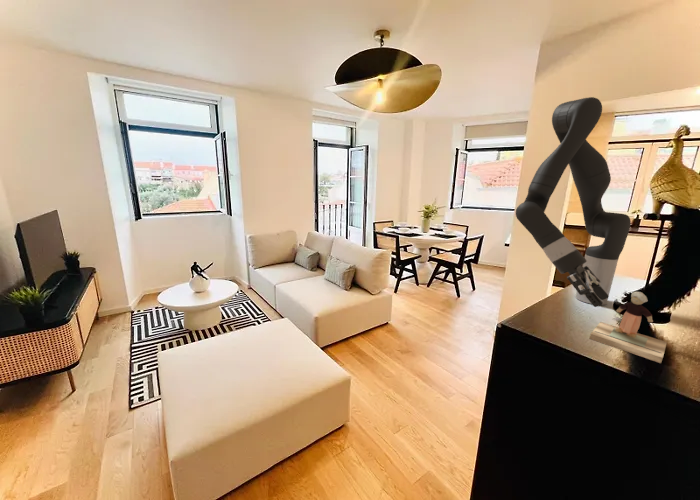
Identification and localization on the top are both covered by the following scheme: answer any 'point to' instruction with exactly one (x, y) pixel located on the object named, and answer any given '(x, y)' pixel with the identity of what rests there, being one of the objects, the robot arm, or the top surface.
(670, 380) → the top surface
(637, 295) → the grandmother figurine
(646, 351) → the oak board
